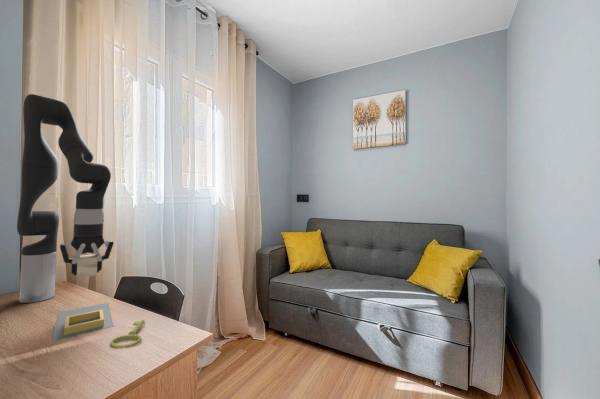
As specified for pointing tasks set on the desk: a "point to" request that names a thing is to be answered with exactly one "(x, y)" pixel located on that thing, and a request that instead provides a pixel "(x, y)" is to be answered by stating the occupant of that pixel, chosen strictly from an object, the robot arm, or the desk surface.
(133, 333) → the key
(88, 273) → the beech block
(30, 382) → the desk surface
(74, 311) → the puzzle board
